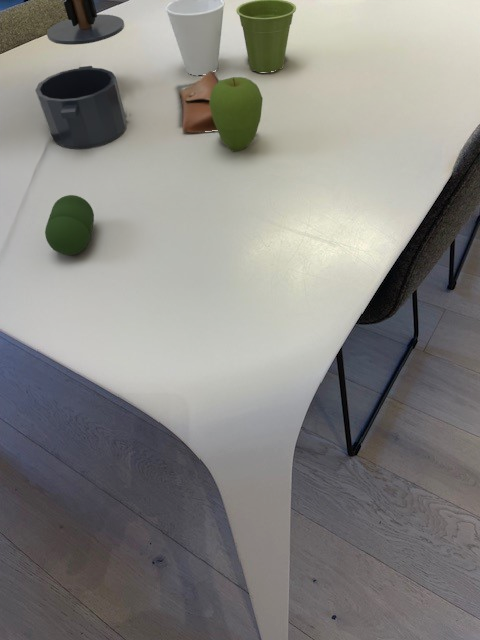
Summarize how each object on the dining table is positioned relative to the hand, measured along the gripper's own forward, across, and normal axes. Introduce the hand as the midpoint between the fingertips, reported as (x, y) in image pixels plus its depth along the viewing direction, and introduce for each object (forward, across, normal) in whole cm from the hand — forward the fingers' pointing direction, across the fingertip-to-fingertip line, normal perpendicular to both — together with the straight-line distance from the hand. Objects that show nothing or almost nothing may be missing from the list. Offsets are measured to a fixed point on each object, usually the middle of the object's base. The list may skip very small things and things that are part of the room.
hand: (84, 22), depth 93 cm
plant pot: (+13, +35, +5) cm, 38 cm away
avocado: (+13, +3, -50) cm, 52 cm away
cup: (+13, +21, +7) cm, 26 cm away
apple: (+13, +27, -28) cm, 41 cm away
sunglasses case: (+13, +21, -13) cm, 28 cm away
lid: (+1, 0, 0) cm, 1 cm away
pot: (+13, 0, -17) cm, 21 cm away
